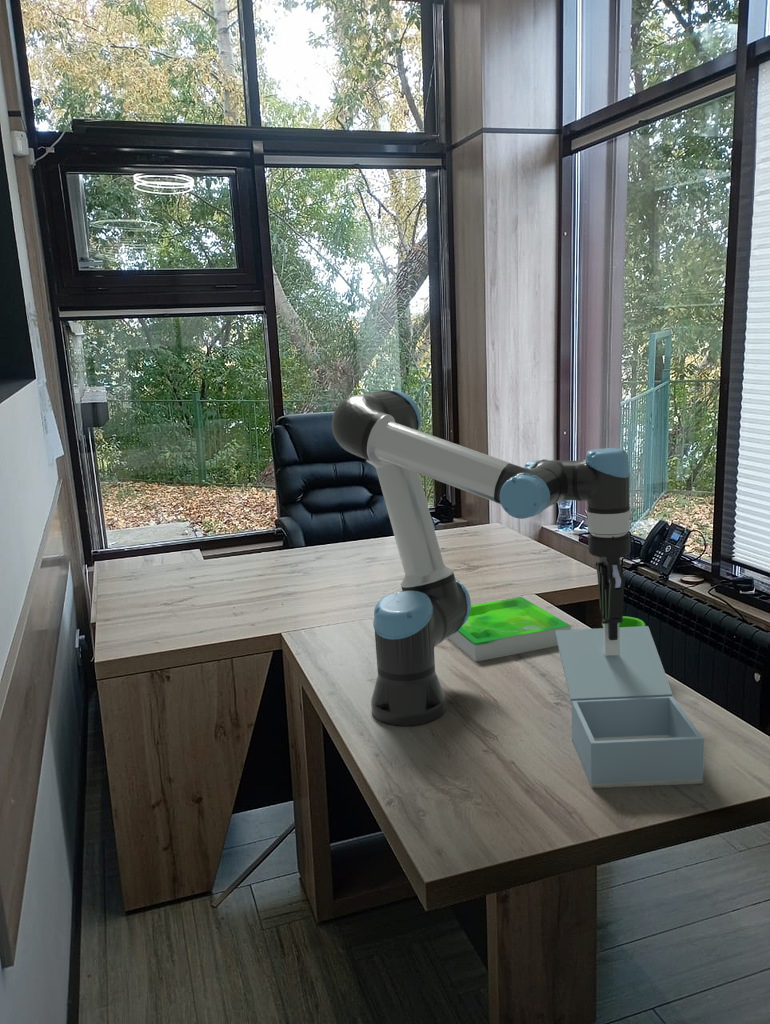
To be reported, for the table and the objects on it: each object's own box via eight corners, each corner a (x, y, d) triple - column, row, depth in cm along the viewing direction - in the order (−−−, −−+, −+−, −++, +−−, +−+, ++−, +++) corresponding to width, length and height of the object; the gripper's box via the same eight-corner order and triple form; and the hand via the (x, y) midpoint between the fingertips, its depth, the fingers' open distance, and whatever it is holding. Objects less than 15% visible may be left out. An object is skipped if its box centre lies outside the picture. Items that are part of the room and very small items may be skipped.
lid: (555, 630, 160) (555, 633, 160) (571, 698, 147) (570, 701, 147) (648, 625, 159) (647, 628, 160) (672, 694, 146) (672, 696, 146)
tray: (521, 614, 218) (521, 596, 217) (570, 645, 194) (570, 625, 193) (435, 629, 210) (434, 611, 209) (475, 663, 187) (474, 643, 186)
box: (591, 788, 133) (591, 743, 131) (572, 740, 148) (571, 700, 147) (702, 783, 132) (703, 738, 130) (671, 736, 148) (672, 695, 146)
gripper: (639, 539, 143) (641, 665, 147) (620, 524, 155) (623, 640, 160) (596, 542, 143) (599, 667, 148) (581, 526, 156) (584, 643, 160)
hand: (611, 653), depth 154 cm, fingers closed
